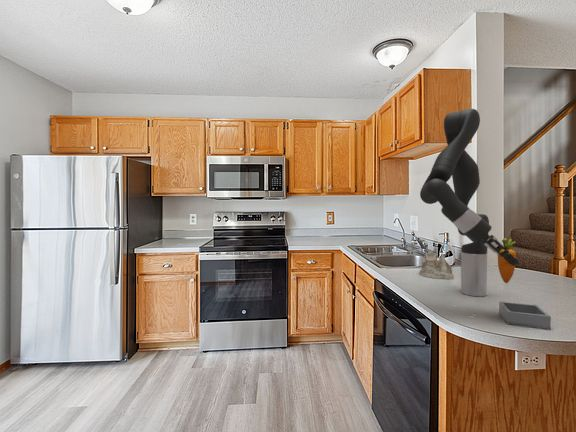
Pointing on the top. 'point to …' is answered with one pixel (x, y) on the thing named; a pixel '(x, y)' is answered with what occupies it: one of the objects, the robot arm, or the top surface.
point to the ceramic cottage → (435, 267)
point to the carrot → (506, 262)
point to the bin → (524, 315)
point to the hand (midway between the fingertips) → (513, 262)
